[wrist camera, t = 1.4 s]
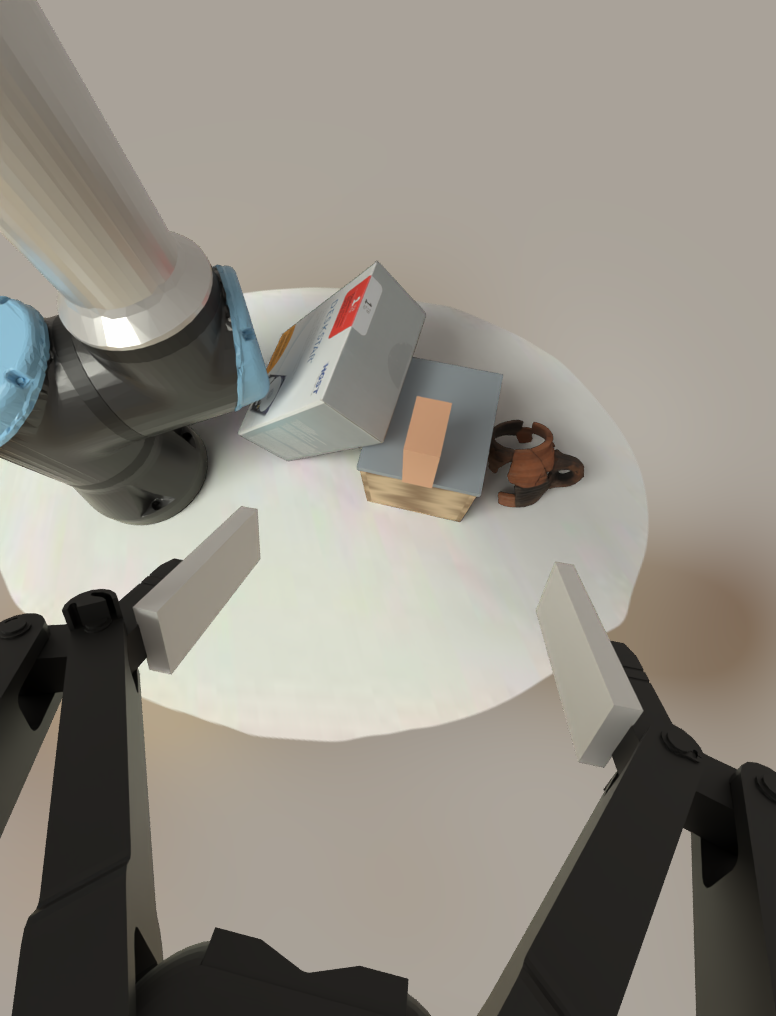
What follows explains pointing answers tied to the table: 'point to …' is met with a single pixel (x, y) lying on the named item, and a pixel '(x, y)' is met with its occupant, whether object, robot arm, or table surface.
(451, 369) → the lid
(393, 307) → the hard drive box
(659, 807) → the robot arm
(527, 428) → the pottery mug
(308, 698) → the table surface
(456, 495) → the carton
